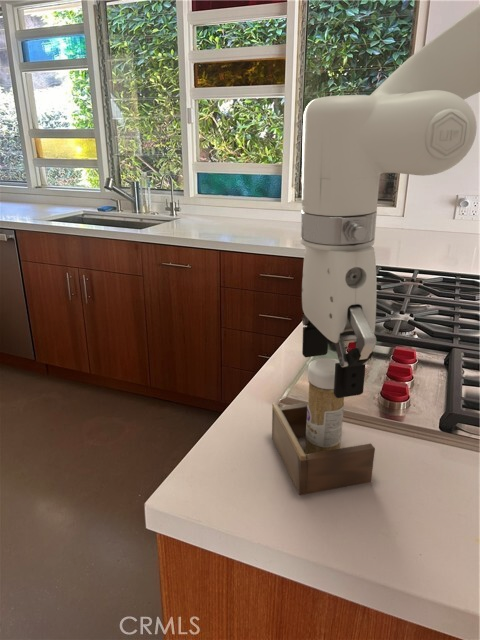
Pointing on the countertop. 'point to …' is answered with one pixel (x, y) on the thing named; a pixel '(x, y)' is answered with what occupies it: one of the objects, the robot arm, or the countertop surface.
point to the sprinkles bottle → (323, 408)
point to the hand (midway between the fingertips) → (330, 373)
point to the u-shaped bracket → (317, 455)
